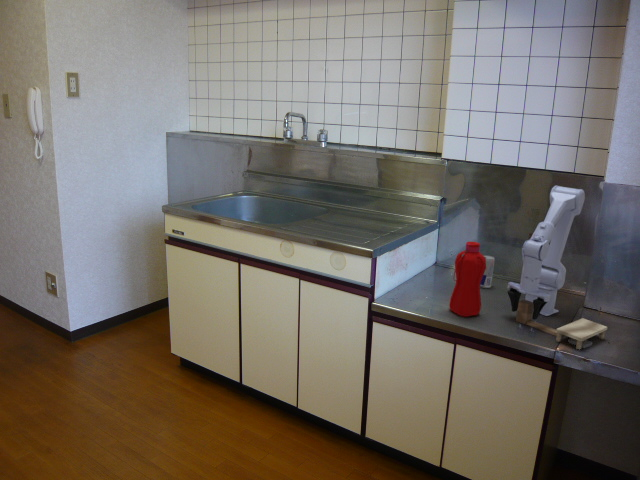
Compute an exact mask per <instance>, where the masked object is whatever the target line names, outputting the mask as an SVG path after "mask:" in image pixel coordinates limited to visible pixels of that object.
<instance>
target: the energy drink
mask: <svg viewBox="0 0 640 480" xmlns="http://www.w3.org/2000/svg"><path fill="white" fill-rule="evenodd" d="M482 255H483V254H482ZM483 256H484V257H485V258H486V270H485V272H484V275H483V277H482V280H481V283H480V289H490V288H492V283H493V276H494V269H495V263H496V262H495V260H496V259H495V257H494V256H491V255H488V254H487V255H483Z"/></svg>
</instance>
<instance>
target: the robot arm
mask: <svg viewBox="0 0 640 480" xmlns="http://www.w3.org/2000/svg"><path fill="white" fill-rule="evenodd" d="M585 200H586V195H585V191H584V189H582V188H580V189H579V188H573V187H565V186H560V185H554V186H553V187H552V188H551V190H550V193H549V204H550V206H549V208H548V210H547V213H546V216H545V218H544V220H543V221H541V222H539V223H538V224H537V225H536V228H535V229H534V232H533V233H532V235H531V237H530V238H529V239H528V240H525V241H524V243H523V245H522V248H521V255H522V259H521V260H522V261H521V262H522V264H523V265H522V271H521V276H520V283H516V282H513V281H510V282H507V285H506V286H507V287H506V288H507V289H508V291H507V296H508V297H509V300H510V305H511V312H513V313H514V312H517V310H518V304H519V301H520V299H521V297H522V294H524V295H525V297H524V300H528V301H531V302H533V314H532V320H533V321H536V320H537V319H538V318H539V316H540V315H542V316H545V317H548V316H551V315H554V314H557V313H559V310H558V309H557V308H556V309H555V306H556V299H557V295H558V294H557V293H558V290H561V288H563V287H564V284H565V282H566V274H567V269H566V267H565V265H564V264H563V263H562V261H561V260H562V258H563V255H564V251H565V247H566V244H567V240H568V237H569V235H570V231H571V227H572V224H573V221H574V220H575V219H574V218H575V217H576V216H579V215H580V214H581V212H582V210H583V206H584V203H585Z"/></svg>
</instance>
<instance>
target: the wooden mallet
mask: <svg viewBox="0 0 640 480" xmlns="http://www.w3.org/2000/svg"><path fill="white" fill-rule="evenodd" d="M532 315H533V302H531V301H528V300H525V299H522V300H519V304H518V309H517V311H516V318H515V321H516V322H518V323H520V324H523V325H527V326H529V327H533V328H535V329H537V330H540V331H543V332H545V333H547V334H551V335H553V336H555V337H557V332H556V329H555V328H553V327H550V326H547V325H545V324H543V323H540V322H537V321H536V320H533V319H532Z"/></svg>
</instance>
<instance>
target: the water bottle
mask: <svg viewBox="0 0 640 480" xmlns="http://www.w3.org/2000/svg"><path fill="white" fill-rule="evenodd" d="M480 247H481V244H480V242H477V241H467V242H466V244H465V250H461V252H459V253H458V254H457V255H456V258H455V260H454V272H453V273H454V274H453V276H452V277H453V281H454V282H455V285H454V288H453V291H452V293H451V296H450V299H449V304H448V305H449V310H450V311H451V312H453V313H455V314H456V315H458V316H459V317H465V318H467V317H472V316H479V315H480V312H481V308H482V299H481V297H482V296H481V287H480V283H481V280H482V277H483V275H484V272H485V270H486V258H485V257H484V256H483V254H482V253H481V252H480ZM455 276H456V277H455ZM455 278H456V279H455Z"/></svg>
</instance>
